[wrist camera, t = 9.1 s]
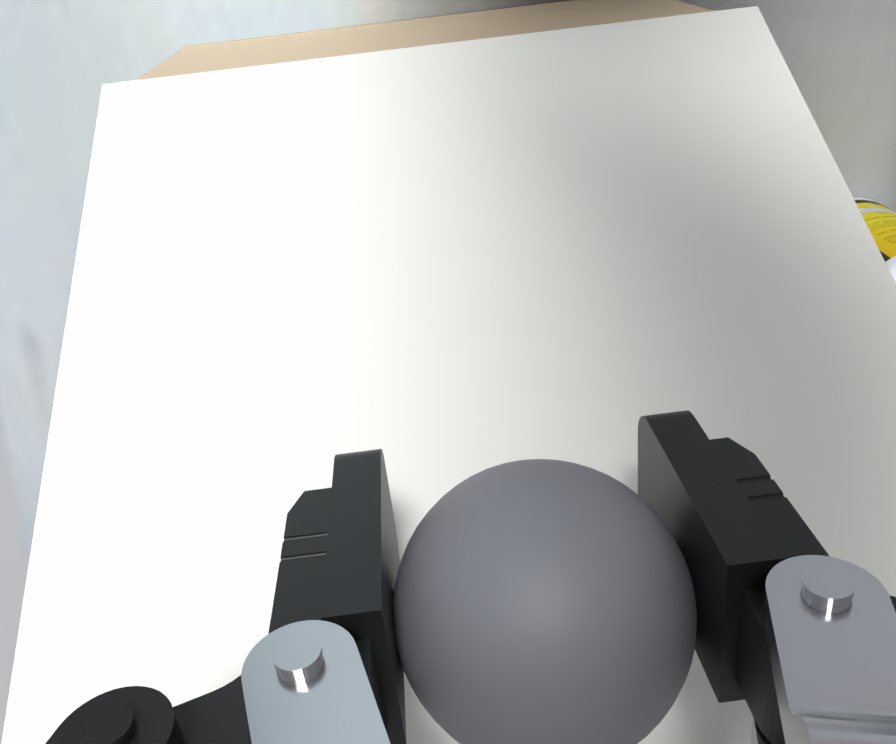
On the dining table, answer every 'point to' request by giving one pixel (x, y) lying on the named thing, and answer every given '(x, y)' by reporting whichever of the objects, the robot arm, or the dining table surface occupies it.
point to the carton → (414, 33)
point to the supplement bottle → (881, 229)
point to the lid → (454, 366)
